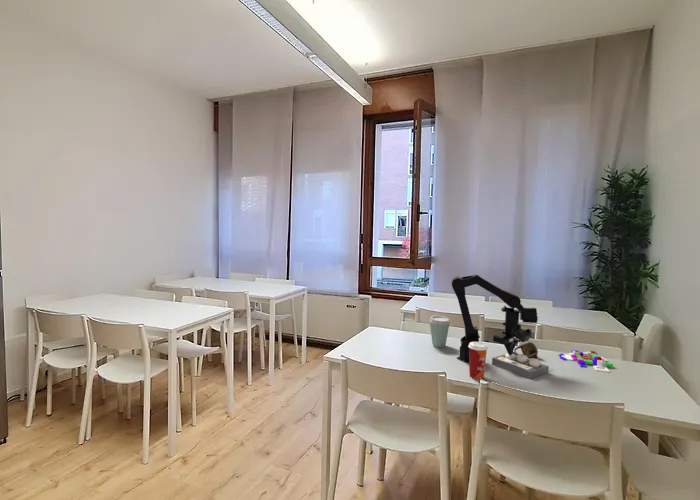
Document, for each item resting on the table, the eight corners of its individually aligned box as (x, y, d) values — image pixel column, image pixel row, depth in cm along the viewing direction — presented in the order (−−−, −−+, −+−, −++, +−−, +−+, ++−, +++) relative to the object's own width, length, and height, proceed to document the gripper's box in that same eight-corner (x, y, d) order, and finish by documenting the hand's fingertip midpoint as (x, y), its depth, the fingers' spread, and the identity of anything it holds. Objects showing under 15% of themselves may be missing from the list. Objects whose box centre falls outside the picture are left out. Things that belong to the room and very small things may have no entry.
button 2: (535, 369, 167) (536, 362, 167) (527, 366, 171) (527, 359, 171) (541, 368, 170) (541, 360, 169) (532, 365, 173) (533, 357, 173)
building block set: (556, 350, 201) (556, 342, 201) (603, 356, 194) (603, 347, 193) (563, 367, 178) (564, 358, 177) (617, 374, 170) (617, 364, 170)
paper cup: (483, 382, 159) (485, 348, 158) (464, 377, 164) (466, 344, 162) (488, 375, 166) (489, 343, 165) (469, 371, 170) (471, 340, 169)
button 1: (510, 364, 178) (511, 356, 177) (503, 361, 181) (503, 354, 181) (516, 362, 180) (516, 355, 180) (508, 359, 183) (509, 352, 183)
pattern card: (527, 370, 165) (527, 369, 165) (496, 358, 178) (497, 358, 178) (532, 368, 167) (532, 367, 167) (502, 357, 180) (502, 356, 179)
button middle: (523, 365, 172) (523, 358, 172) (514, 362, 176) (515, 355, 176) (528, 363, 175) (528, 356, 174) (520, 360, 178) (520, 353, 178)
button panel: (530, 379, 163) (530, 372, 163) (491, 364, 179) (492, 357, 179) (548, 372, 170) (548, 366, 170) (509, 359, 186) (510, 352, 186)
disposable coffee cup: (452, 345, 206) (453, 316, 204) (445, 350, 197) (446, 321, 195) (432, 341, 211) (433, 313, 210) (425, 346, 202) (426, 318, 201)
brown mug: (542, 350, 183) (536, 339, 192) (514, 346, 185) (509, 335, 194) (539, 364, 185) (533, 352, 195) (511, 359, 187) (506, 348, 196)
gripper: (514, 328, 167) (512, 364, 168) (540, 322, 177) (538, 356, 178) (492, 322, 176) (491, 356, 178) (518, 317, 186) (516, 349, 188)
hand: (510, 354), depth 180 cm, fingers closed, pressing on button 1
